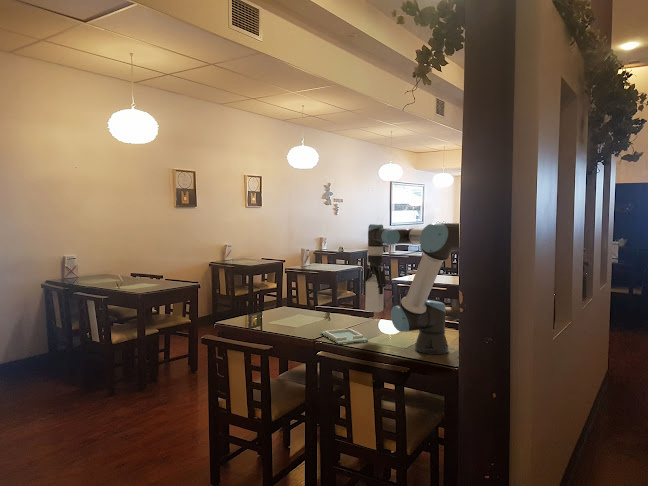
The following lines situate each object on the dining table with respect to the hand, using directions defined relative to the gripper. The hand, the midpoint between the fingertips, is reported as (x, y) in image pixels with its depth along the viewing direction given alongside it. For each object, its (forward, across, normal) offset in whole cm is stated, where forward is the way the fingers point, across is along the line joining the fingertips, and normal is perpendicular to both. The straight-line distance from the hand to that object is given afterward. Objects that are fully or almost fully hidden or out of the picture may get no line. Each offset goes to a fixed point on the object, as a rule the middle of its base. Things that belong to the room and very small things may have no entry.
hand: (374, 298), depth 235 cm
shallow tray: (+20, +6, +14) cm, 25 cm away
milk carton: (+6, 0, 0) cm, 6 cm away
